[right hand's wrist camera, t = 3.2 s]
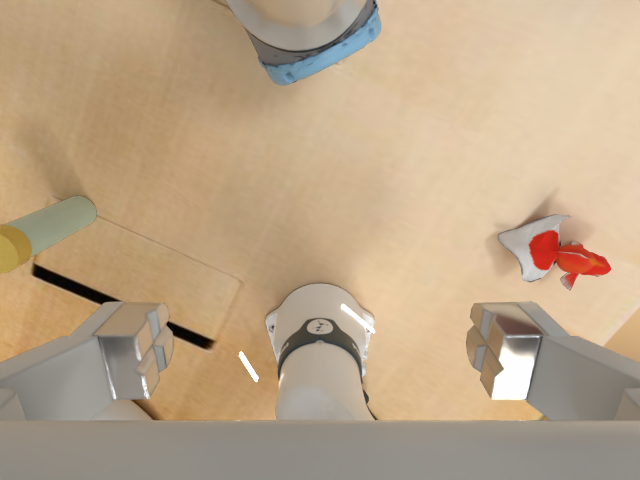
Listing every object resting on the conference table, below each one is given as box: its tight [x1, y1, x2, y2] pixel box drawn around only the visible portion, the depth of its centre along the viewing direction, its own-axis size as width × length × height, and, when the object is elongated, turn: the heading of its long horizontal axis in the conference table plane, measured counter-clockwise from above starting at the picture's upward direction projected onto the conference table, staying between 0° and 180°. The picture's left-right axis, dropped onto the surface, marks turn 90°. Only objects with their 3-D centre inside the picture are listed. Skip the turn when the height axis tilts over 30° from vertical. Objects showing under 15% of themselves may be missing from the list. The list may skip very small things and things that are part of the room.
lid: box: [0, 225, 32, 273], centre depth 44 cm, size 5×5×2 cm
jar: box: [4, 196, 97, 257], centre depth 51 cm, size 5×5×16 cm
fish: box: [498, 215, 611, 290], centre depth 57 cm, size 11×16×10 cm
